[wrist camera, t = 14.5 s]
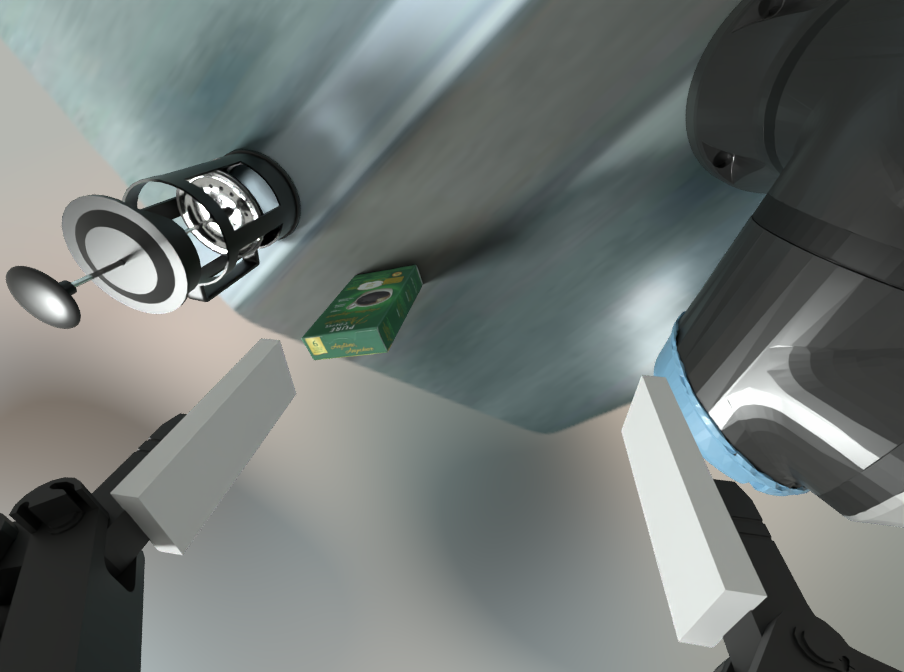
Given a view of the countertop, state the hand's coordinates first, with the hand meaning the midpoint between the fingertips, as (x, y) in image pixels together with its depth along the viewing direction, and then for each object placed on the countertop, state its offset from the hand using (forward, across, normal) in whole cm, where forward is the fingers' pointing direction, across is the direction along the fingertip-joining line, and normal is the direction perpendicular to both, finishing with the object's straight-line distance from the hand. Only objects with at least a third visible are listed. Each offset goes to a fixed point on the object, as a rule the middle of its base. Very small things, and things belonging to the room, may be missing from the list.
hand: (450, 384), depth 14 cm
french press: (+28, +25, +2) cm, 38 cm away
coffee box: (+28, +12, +10) cm, 32 cm away
